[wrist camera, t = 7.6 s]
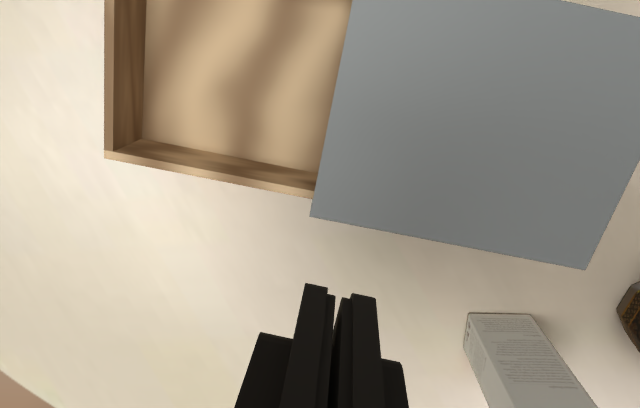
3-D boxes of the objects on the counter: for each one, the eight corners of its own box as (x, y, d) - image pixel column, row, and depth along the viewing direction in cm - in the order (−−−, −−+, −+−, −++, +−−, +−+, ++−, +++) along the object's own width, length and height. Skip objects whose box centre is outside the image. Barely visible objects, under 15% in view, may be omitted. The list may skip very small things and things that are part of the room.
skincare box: (462, 347, 40) (508, 462, 29) (467, 311, 39) (519, 417, 28) (524, 349, 40) (596, 465, 29) (532, 313, 39) (611, 420, 28)
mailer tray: (409, 2, 29) (424, -7, 24) (364, 187, 34) (368, 210, 29) (143, -54, 28) (104, -75, 24) (137, 142, 33) (104, 158, 29)
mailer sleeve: (623, 34, 30) (702, 30, 23) (539, 229, 36) (585, 270, 29) (356, -23, 29) (361, -43, 23) (314, 185, 35) (309, 216, 29)
